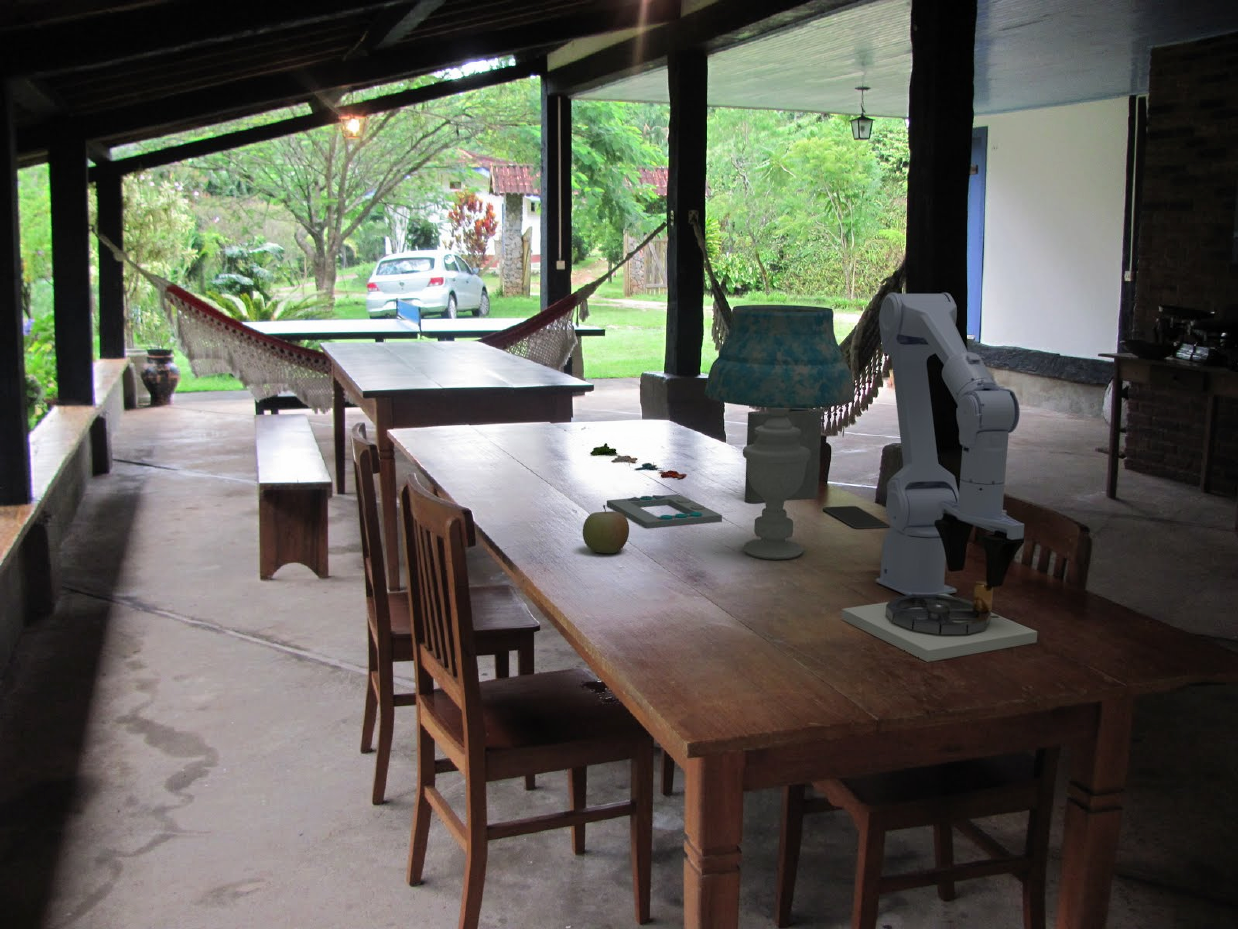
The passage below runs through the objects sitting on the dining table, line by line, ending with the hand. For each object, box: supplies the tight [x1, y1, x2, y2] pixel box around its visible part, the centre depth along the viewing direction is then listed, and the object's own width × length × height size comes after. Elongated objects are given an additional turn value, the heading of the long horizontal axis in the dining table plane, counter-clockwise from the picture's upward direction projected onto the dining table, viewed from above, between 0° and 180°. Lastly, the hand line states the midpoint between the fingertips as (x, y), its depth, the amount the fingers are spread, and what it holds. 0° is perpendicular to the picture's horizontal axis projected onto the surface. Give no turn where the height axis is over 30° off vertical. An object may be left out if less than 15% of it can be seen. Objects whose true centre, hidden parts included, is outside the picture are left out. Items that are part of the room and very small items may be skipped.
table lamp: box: [704, 304, 856, 561], centre depth 198 cm, size 24×24×40 cm
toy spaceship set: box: [589, 442, 688, 479], centre depth 272 cm, size 35×6×3 cm, turn 33°
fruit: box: [582, 504, 630, 554], centre depth 201 cm, size 8×7×8 cm
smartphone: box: [822, 505, 891, 530], centre depth 226 cm, size 7×1×15 cm
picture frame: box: [606, 493, 723, 530], centre depth 228 cm, size 18×2×15 cm
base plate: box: [841, 594, 1038, 663], centre depth 165 cm, size 18×18×2 cm
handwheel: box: [886, 580, 994, 634], centre depth 164 cm, size 14×13×5 cm
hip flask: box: [744, 408, 823, 505], centre depth 239 cm, size 16×4×20 cm, turn 112°
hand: (974, 578), depth 166 cm, fingers open, 7 cm apart
